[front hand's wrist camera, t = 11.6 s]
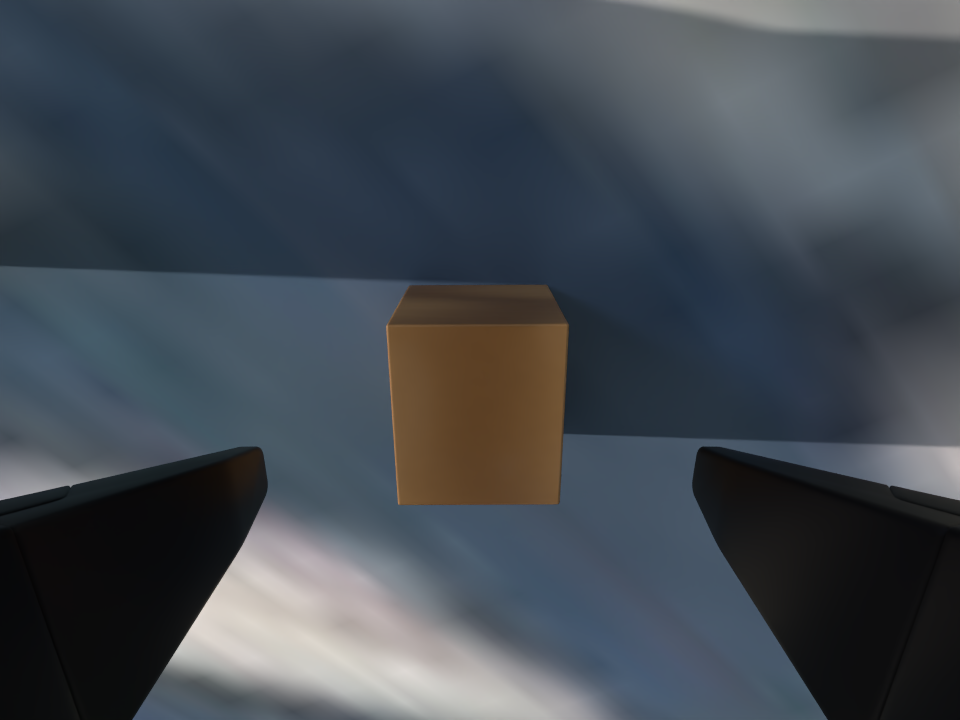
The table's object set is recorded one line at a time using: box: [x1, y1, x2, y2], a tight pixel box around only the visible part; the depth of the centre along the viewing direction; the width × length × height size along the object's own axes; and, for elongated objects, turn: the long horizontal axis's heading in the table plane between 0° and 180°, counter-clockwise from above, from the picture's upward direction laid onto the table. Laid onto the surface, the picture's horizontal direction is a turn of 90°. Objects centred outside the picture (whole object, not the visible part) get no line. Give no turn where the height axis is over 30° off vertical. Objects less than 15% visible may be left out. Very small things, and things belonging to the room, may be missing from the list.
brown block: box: [386, 285, 569, 505], centre depth 16 cm, size 4×5×4 cm
